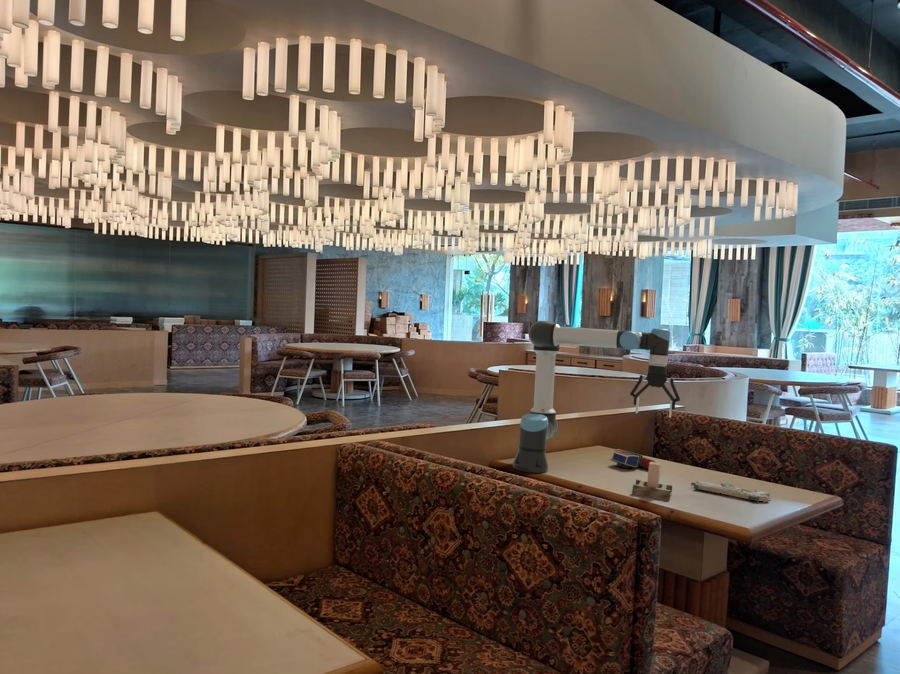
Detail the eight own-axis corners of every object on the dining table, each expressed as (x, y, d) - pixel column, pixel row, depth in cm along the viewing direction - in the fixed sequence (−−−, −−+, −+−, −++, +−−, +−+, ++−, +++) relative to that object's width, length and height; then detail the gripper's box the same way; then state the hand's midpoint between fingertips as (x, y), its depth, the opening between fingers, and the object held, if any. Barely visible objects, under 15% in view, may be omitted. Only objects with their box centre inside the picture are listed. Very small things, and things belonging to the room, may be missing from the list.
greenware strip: (646, 491, 265) (649, 463, 265) (648, 488, 270) (650, 461, 270) (657, 493, 264) (659, 465, 263) (658, 490, 268) (660, 463, 268)
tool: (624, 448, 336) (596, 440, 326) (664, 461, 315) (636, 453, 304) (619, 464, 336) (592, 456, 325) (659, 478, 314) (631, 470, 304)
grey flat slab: (698, 484, 297) (688, 489, 280) (699, 477, 297) (689, 482, 280) (773, 499, 281) (767, 506, 264) (774, 491, 281) (768, 498, 264)
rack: (632, 494, 264) (632, 485, 264) (635, 487, 275) (636, 479, 275) (669, 500, 259) (670, 491, 259) (671, 493, 270) (672, 484, 270)
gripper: (689, 367, 284) (684, 417, 285) (628, 361, 294) (624, 410, 294) (688, 368, 277) (683, 420, 278) (626, 362, 287) (621, 412, 287)
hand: (653, 415), depth 286 cm, fingers open, 13 cm apart
